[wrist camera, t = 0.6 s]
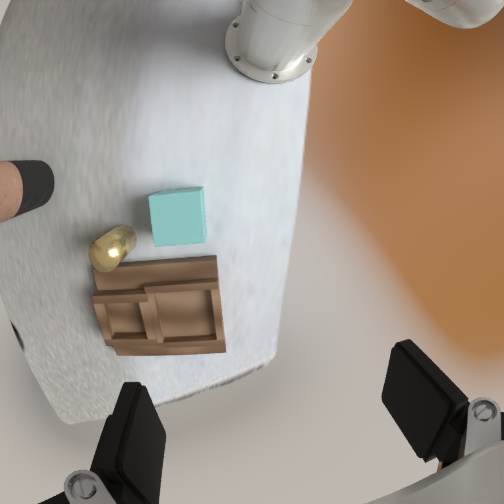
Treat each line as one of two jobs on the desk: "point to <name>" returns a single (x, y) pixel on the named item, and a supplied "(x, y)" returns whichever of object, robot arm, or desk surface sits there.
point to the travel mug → (24, 187)
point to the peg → (112, 248)
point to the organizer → (161, 307)
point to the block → (178, 217)
